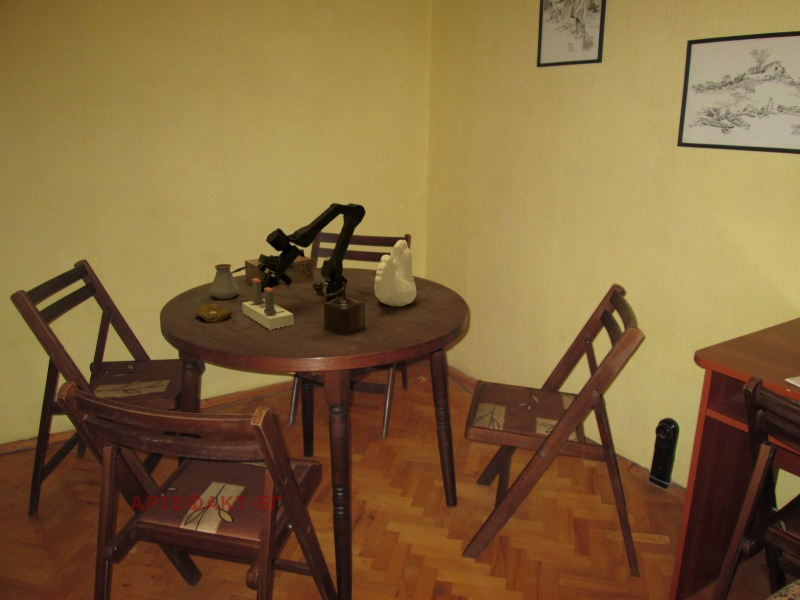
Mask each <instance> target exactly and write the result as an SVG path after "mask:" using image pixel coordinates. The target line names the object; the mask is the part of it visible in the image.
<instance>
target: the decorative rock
mask: <svg viewBox="0 0 800 600" xmlns="http://www.w3.org/2000/svg"><path fill="white" fill-rule="evenodd" d="M194 314H196V315H198V316H199V318H202V319H203V320H204V321H205V322H206V323H216V324H217V323H220V322H224V320H226V319H228V318H229V316H230V315H233V312H232V311H230V309H227V308H226V307H224V308H223V307H222V306H219V304H218V303H210V304H204V305H200V306H199V307H198V308H197V310H196V311H195V312H194Z"/></svg>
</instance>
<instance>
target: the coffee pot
mask: <svg viewBox="0 0 800 600" xmlns="http://www.w3.org/2000/svg"><path fill="white" fill-rule="evenodd" d="M231 267H232V264H231V263H230V264H228V263H219V264H216V265H214V268H215V270H216V273H215V276H214V277H213V281H212V284H211V288H210V290H209V291H210V292H209V293H210V294H211V295H212V296H213V297H215V299H217V298H218V300H230V299H233V298H232V297H234V296H235V297H236V295H239V292H240V291H241V290H240V286H239V285H238V283H237V281H236V279H235V276H233V274H236V273H239V272H241V271H243V270H244V271H245V268H247V266H245V265H244V266H241V267H239V268H236V269H235V270H233V271H231ZM248 271H249V270H248ZM235 297H234V298H235ZM229 298H230V299H229Z"/></svg>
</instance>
